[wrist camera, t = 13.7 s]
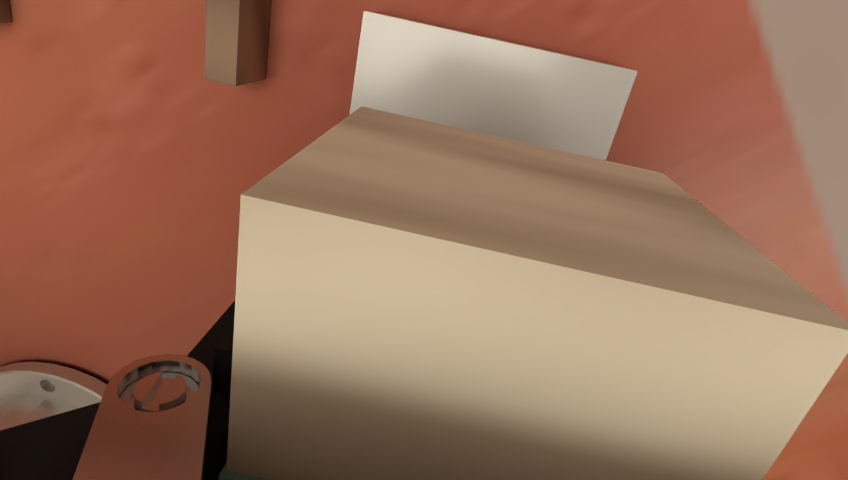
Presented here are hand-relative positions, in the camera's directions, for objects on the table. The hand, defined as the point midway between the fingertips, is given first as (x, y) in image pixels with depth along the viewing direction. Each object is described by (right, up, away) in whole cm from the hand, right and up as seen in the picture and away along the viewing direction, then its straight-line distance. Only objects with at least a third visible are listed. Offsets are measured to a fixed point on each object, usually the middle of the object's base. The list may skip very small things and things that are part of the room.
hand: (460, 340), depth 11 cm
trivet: (+1, +5, +12) cm, 13 cm away
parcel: (0, 0, +1) cm, 1 cm away
